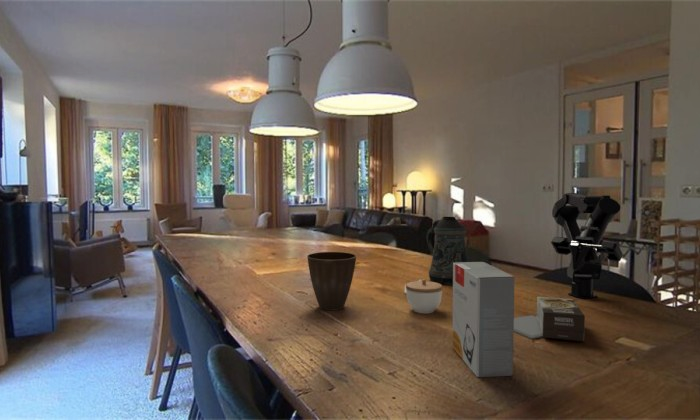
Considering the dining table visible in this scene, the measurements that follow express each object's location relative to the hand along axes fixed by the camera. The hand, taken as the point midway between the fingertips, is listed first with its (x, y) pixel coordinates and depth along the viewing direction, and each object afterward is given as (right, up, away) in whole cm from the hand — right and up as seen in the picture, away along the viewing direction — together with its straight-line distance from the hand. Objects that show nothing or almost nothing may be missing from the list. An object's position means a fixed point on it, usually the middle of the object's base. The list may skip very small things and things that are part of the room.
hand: (574, 270), depth 127 cm
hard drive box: (-38, -15, -36) cm, 54 cm away
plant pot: (-71, -12, +6) cm, 73 cm away
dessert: (-40, -12, +27) cm, 50 cm away
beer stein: (-28, -10, +43) cm, 52 cm away
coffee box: (-10, -9, -9) cm, 17 cm away
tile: (-18, -13, -13) cm, 26 cm away
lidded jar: (-44, -13, +2) cm, 46 cm away
